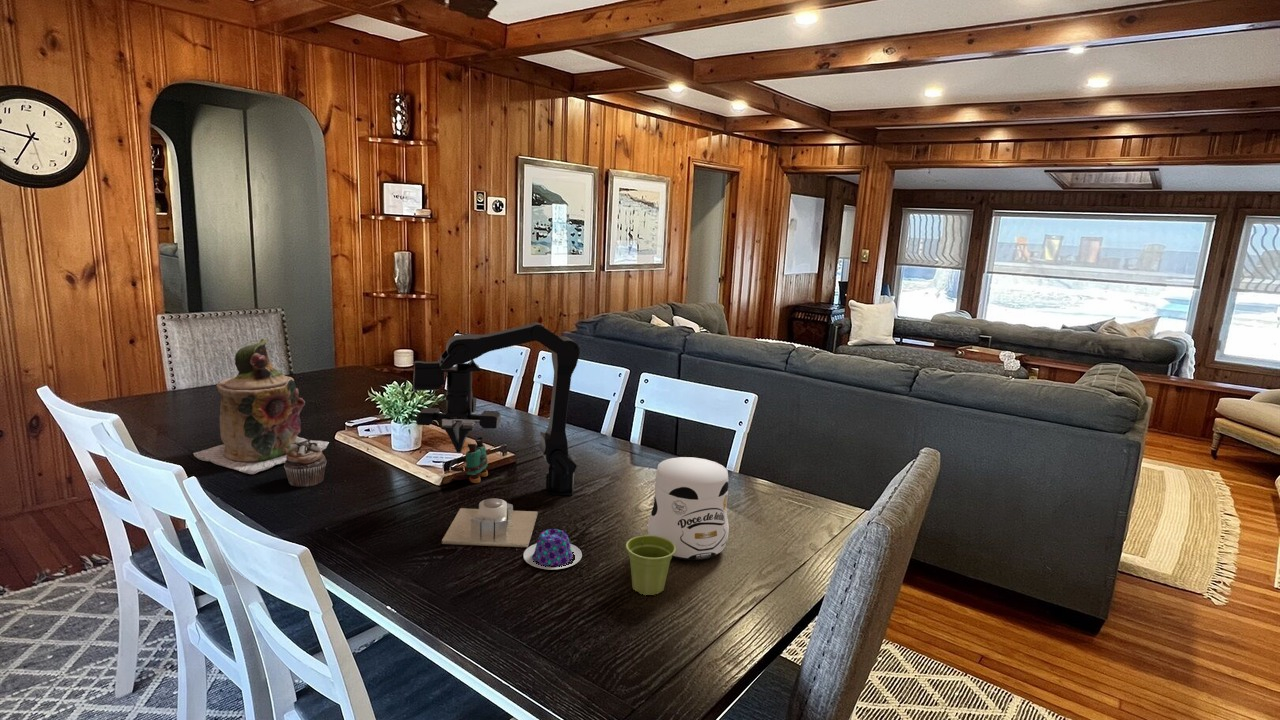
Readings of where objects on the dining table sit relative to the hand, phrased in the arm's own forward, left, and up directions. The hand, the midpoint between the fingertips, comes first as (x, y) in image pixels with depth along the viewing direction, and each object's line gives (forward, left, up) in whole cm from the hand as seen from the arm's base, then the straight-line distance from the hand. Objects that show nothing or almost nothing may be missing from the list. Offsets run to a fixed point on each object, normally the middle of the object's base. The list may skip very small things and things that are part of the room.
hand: (459, 452), depth 160 cm
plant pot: (-45, +37, -12) cm, 60 cm away
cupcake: (+40, -7, -12) cm, 42 cm away
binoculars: (+1, -14, -12) cm, 19 cm away
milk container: (-54, +20, -12) cm, 59 cm away
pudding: (-26, +26, -12) cm, 39 cm away
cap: (-11, +15, -11) cm, 22 cm away
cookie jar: (+60, -24, -12) cm, 66 cm away
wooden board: (-11, +15, -12) cm, 22 cm away
